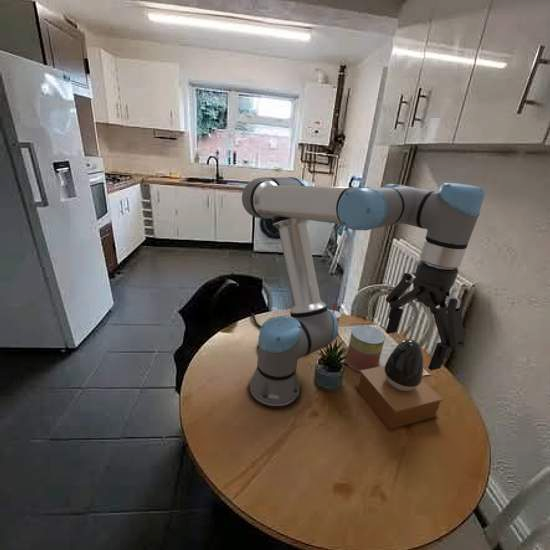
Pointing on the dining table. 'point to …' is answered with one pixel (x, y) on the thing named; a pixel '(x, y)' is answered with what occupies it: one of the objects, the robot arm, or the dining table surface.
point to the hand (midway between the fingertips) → (410, 348)
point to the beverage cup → (336, 313)
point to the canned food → (364, 347)
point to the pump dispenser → (405, 366)
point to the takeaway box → (397, 399)
